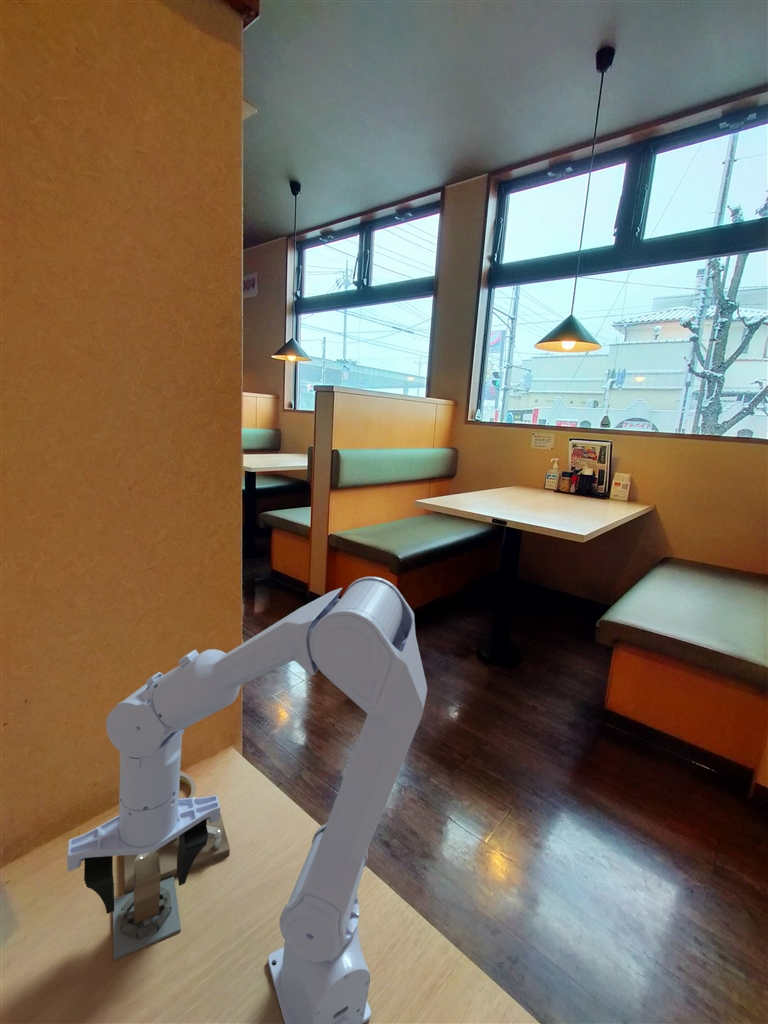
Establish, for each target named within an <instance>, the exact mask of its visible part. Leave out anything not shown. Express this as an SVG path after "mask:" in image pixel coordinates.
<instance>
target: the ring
mask: <svg viewBox="0 0 768 1024" xmlns="http://www.w3.org/2000/svg"><path fill="white" fill-rule="evenodd" d="M180 783H182V784H185V785H186V786H187V787H188V788H189V790H190V795H189V796H188V798H196V789H197V787H196V782H195V781H194V779H193V778H192V777H191V776H190V775H189V774H188V773H186V772H184V771H181V770H180Z"/></svg>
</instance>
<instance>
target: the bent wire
mask: <svg viewBox="0 0 768 1024" xmlns="http://www.w3.org/2000/svg"><path fill="white" fill-rule="evenodd" d="M207 830H208V838H210V839H213V846H212V848H213V850H218V849H219V848H220V846H221V835H222V831H221V830H220V828H217V827H212V826H208V825H207ZM178 839H179V836H178V837H176V838H175V839H173V840H178ZM157 850H158V849H157ZM157 850H155V851H152V852H150V853H146V854H139V855H138V856H137V857H136V859H135V861H136V860H139V859H142V858H145V857H147V856H150V855H153V854H154V853H155V852H156V851H157ZM135 861H134V864H135Z"/></svg>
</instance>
